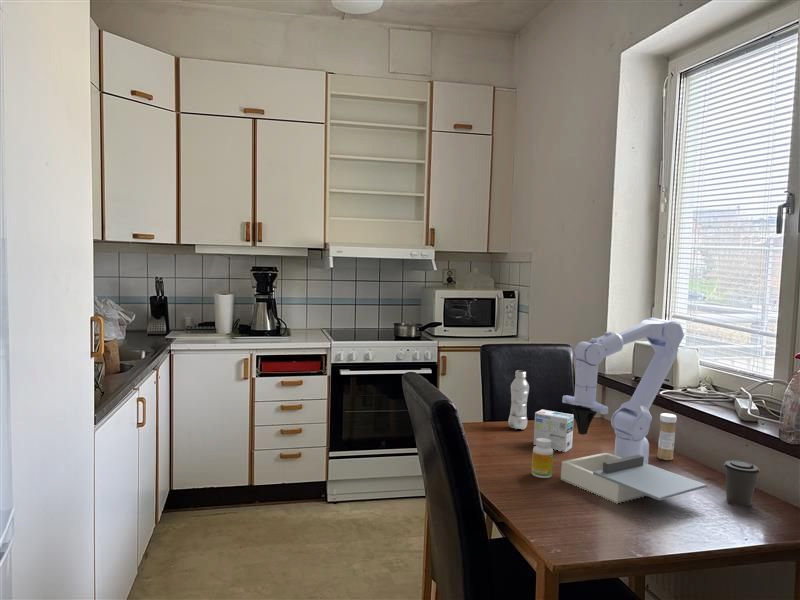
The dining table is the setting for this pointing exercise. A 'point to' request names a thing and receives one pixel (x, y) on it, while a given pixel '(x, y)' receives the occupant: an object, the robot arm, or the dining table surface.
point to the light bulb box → (554, 429)
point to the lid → (647, 478)
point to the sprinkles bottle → (666, 436)
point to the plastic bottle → (519, 401)
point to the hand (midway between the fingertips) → (582, 433)
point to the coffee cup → (740, 481)
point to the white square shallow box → (596, 478)
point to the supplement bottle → (542, 458)
